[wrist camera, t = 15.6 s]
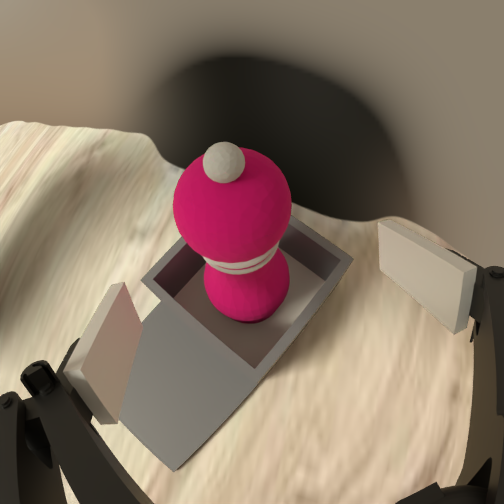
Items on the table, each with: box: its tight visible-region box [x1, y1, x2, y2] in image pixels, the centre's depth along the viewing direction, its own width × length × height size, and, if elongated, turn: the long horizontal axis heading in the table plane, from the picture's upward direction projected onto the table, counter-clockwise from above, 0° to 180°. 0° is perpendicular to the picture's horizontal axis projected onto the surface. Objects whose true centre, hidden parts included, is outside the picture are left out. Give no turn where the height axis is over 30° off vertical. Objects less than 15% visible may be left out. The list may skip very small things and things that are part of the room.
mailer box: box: [119, 215, 353, 472], centre depth 26 cm, size 13×25×7 cm, turn 140°
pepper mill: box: [173, 142, 292, 324], centre depth 21 cm, size 7×7×20 cm
